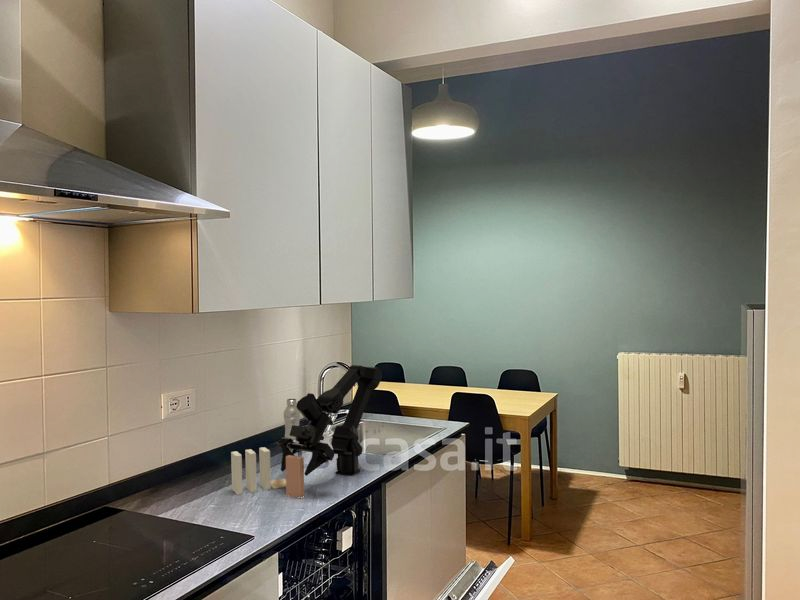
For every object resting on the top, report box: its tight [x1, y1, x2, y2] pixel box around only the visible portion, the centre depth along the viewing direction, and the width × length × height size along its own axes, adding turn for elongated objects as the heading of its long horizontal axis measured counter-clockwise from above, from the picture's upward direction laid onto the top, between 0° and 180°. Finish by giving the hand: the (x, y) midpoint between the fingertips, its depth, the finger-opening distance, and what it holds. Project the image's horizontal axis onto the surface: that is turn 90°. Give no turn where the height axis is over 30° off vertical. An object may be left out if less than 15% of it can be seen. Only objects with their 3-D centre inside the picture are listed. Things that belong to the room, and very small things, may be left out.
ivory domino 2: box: [244, 448, 258, 493], centre depth 199 cm, size 2×6×12 cm, turn 30°
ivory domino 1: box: [230, 451, 243, 496], centre depth 197 cm, size 2×6×12 cm, turn 30°
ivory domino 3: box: [258, 446, 272, 491], centre depth 202 cm, size 2×6×12 cm, turn 30°
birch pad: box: [271, 478, 286, 490], centre depth 204 cm, size 6×8×1 cm
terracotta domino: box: [285, 455, 305, 499], centre depth 192 cm, size 2×6×12 cm, turn 60°
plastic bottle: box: [283, 398, 301, 452], centre depth 244 cm, size 6×7×20 cm
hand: (293, 472), depth 192 cm, fingers open, 9 cm apart
